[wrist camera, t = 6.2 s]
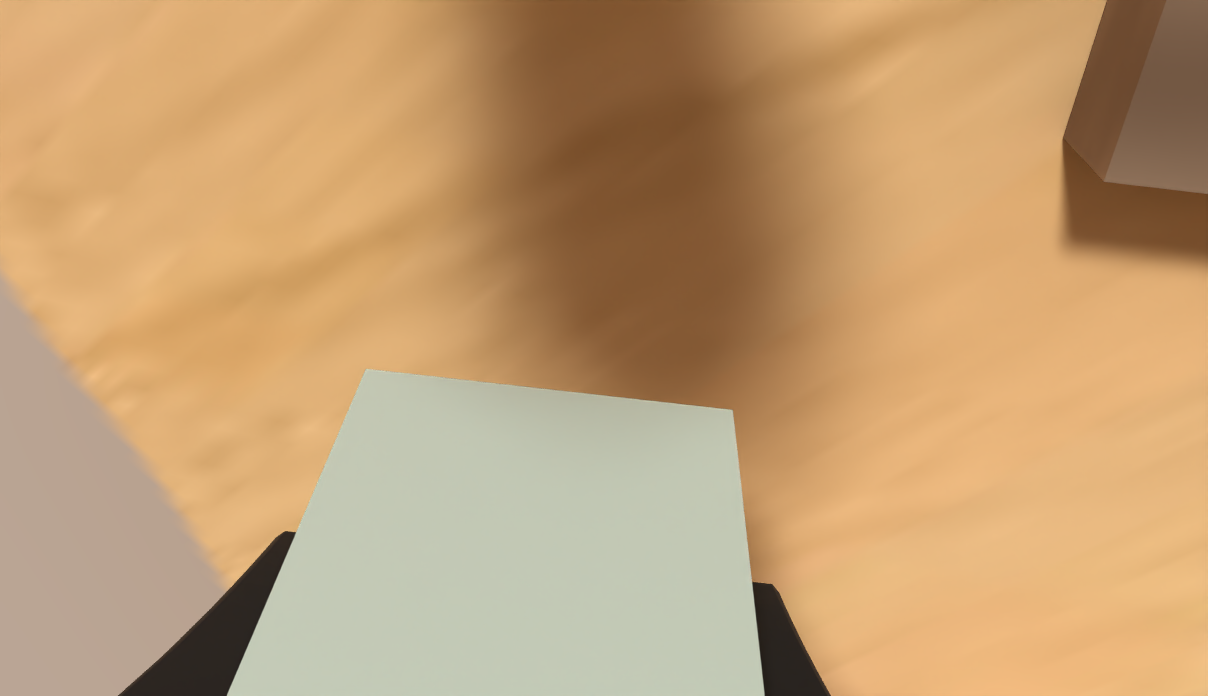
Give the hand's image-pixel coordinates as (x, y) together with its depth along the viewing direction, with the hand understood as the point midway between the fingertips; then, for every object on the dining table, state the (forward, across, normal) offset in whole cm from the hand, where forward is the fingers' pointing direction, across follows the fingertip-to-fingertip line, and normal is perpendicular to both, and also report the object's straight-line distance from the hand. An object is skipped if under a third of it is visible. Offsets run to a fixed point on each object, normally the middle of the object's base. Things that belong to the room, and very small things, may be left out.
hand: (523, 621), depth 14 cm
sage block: (+2, 0, 0) cm, 2 cm away
